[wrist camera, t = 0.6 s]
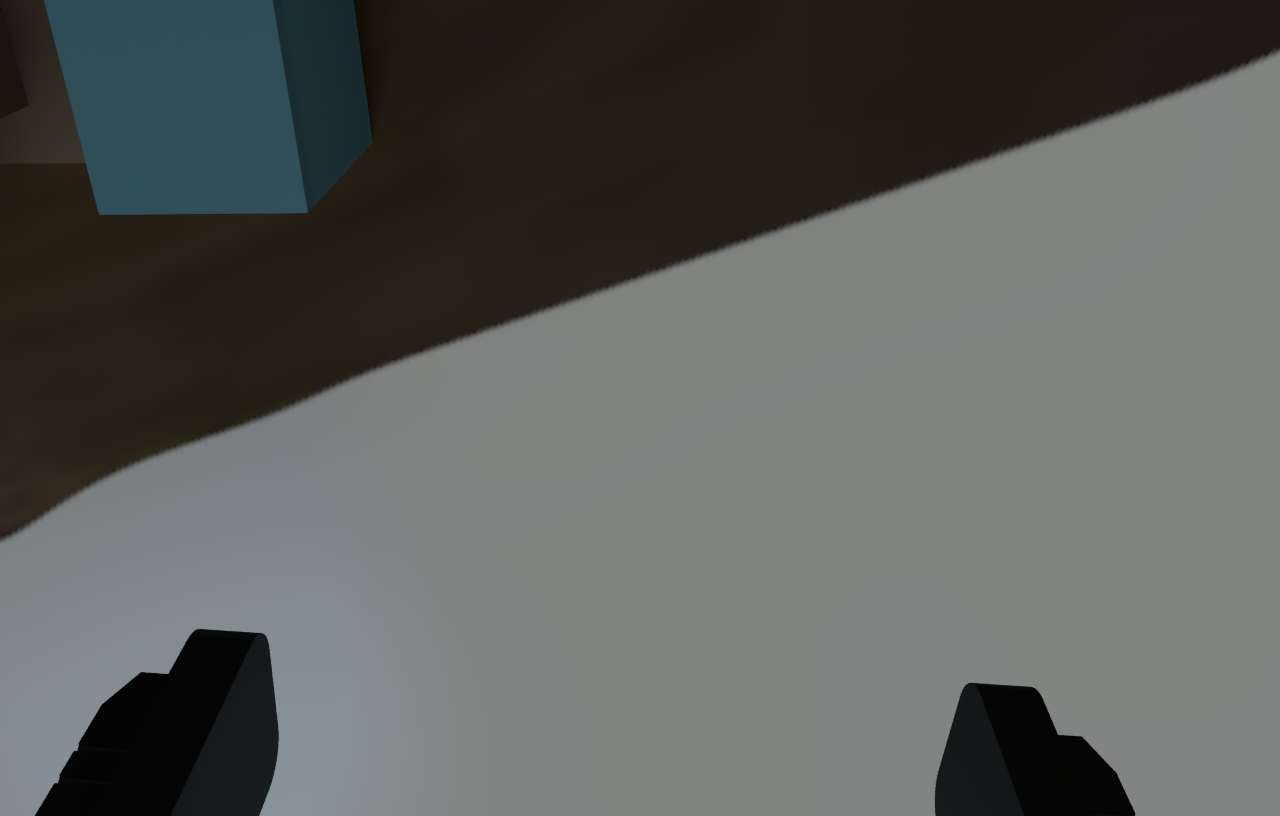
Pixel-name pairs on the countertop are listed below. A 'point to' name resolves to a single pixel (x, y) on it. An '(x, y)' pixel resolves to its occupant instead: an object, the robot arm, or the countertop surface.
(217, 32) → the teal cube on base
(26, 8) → the dark stepped block
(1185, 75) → the countertop surface
